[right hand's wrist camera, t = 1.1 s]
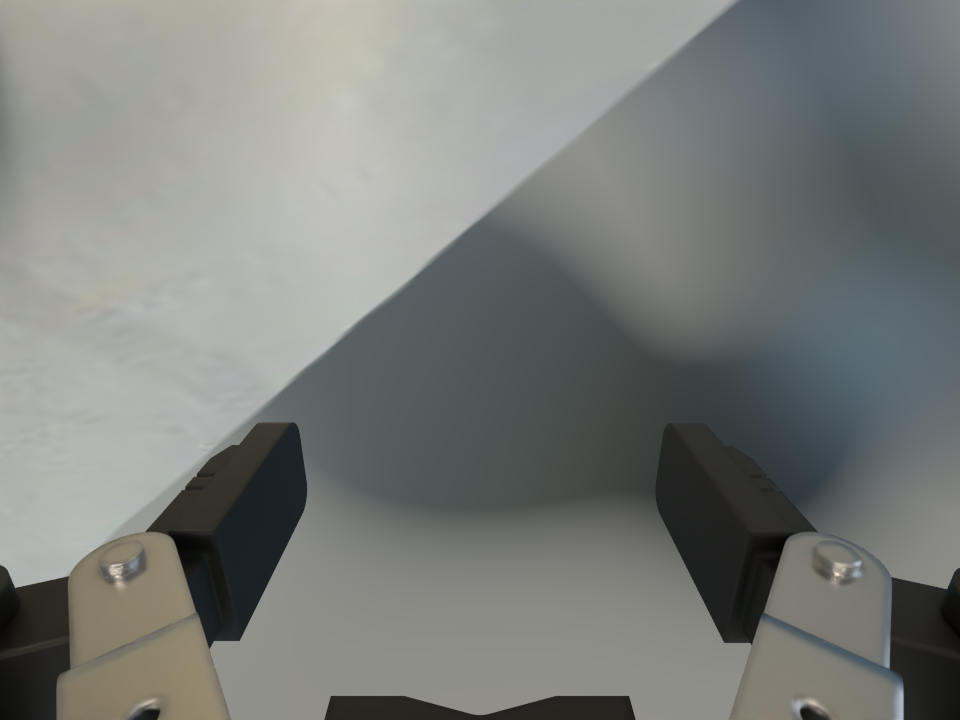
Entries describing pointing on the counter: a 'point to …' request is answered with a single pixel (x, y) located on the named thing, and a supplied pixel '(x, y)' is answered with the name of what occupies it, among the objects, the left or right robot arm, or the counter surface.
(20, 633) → the right robot arm
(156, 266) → the counter surface
